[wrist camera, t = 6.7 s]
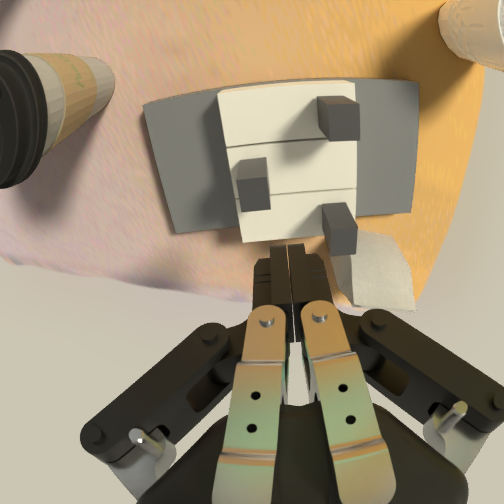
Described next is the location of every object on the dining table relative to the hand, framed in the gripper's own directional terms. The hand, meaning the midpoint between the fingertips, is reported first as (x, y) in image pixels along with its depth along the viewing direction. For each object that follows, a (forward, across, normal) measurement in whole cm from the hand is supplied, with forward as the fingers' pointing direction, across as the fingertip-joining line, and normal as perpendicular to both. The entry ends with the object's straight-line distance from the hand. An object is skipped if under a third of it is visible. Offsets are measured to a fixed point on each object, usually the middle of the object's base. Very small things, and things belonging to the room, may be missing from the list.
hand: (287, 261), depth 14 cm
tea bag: (+17, -9, +12) cm, 22 cm away
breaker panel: (+17, -1, 0) cm, 17 cm away
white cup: (+17, -20, -13) cm, 30 cm away
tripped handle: (+11, +2, 0) cm, 12 cm away
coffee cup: (+17, +16, -10) cm, 26 cm away
